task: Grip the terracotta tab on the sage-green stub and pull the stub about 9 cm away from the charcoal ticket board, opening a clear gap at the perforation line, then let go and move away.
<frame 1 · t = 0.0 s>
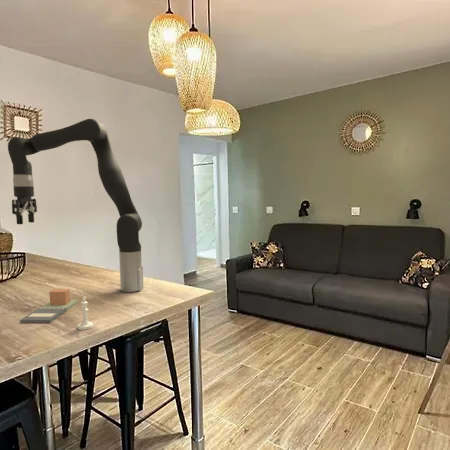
hand: (25, 223, 151), 29 cm above the table, tool pointing down, fingers open, 8 cm apart
stub: (59, 298, 132), point 3 cm above the table, slide at 0.0 cm
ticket: (44, 316, 121), on the table
chess piece: (85, 327, 112), on the table
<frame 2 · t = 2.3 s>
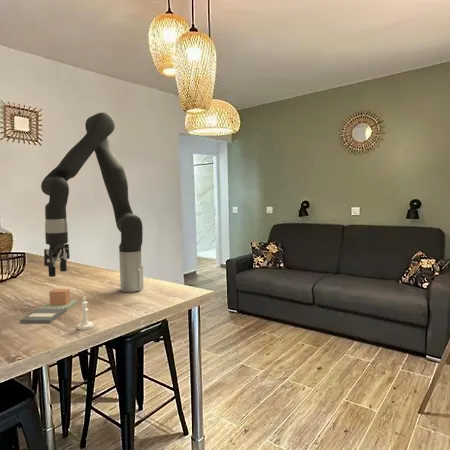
hand: (58, 273, 131), 12 cm above the table, tool pointing down, fingers open, 8 cm apart
nothing on the table moved.
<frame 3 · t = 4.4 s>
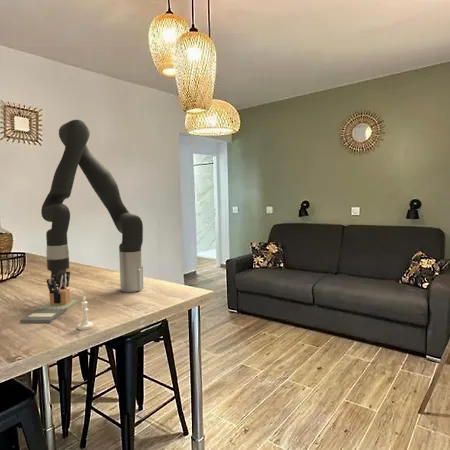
hand: (60, 301, 133), 2 cm above the table, tool pointing down, fingers closed on stub, 3 cm apart
stub: (58, 298, 132), point 3 cm above the table, slide at 0.0 cm, touching gripper
everything else where it was.
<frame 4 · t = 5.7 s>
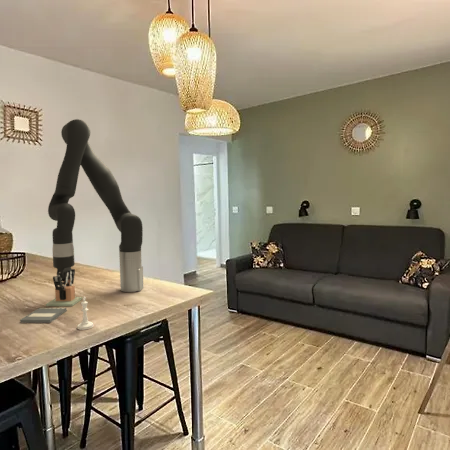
hand: (65, 297, 137), 2 cm above the table, tool pointing down, fingers closed on stub, 3 cm apart
stub: (64, 295, 136), point 3 cm above the table, slide at 4.3 cm, touching gripper
everything else where it was.
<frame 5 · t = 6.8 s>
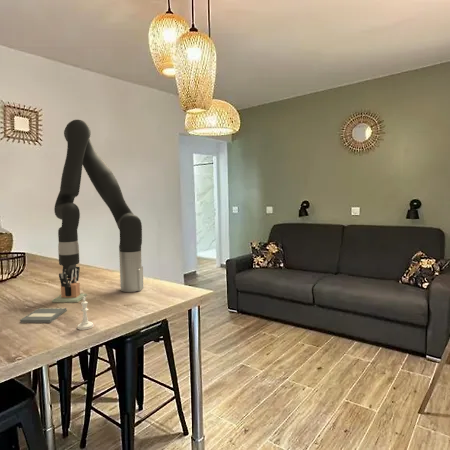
hand: (70, 294, 141), 2 cm above the table, tool pointing down, fingers closed on stub, 3 cm apart
stub: (69, 291, 140), point 3 cm above the table, slide at 8.8 cm, touching gripper
everything else where it was.
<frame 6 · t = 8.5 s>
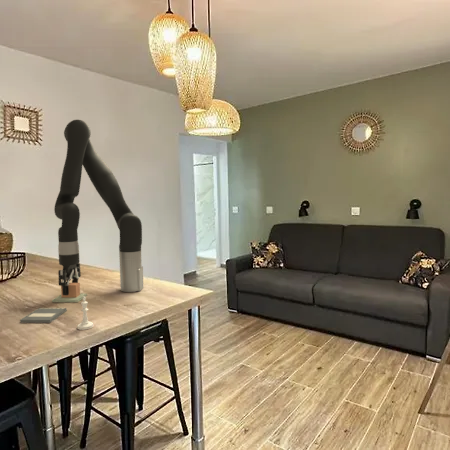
hand: (70, 291, 141), 3 cm above the table, tool pointing down, fingers open, 8 cm apart
stub: (69, 291, 140), point 3 cm above the table, slide at 8.9 cm
everything else where it was.
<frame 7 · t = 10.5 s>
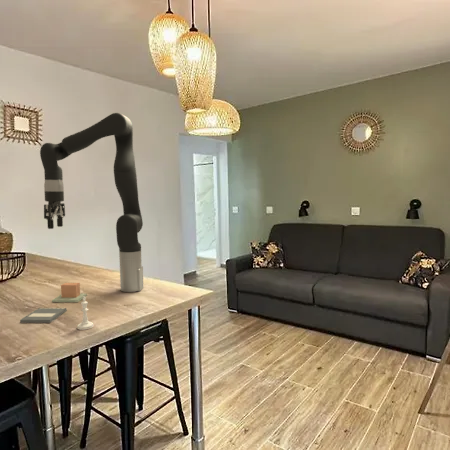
hand: (55, 227, 154), 27 cm above the table, tool pointing down, fingers open, 8 cm apart
nothing on the table moved.
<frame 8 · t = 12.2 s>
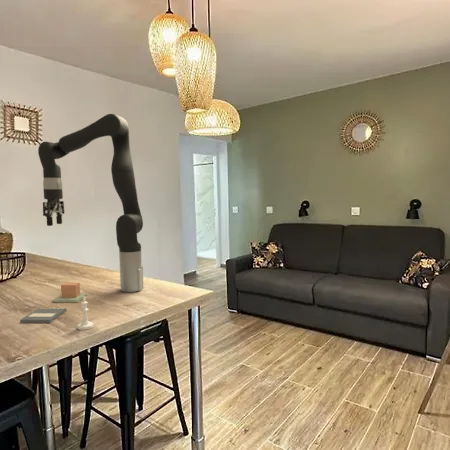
hand: (54, 224, 156), 28 cm above the table, tool pointing down, fingers open, 8 cm apart
nothing on the table moved.
at the end: stub slide at 8.9 cm; the gripper is holding nothing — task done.
